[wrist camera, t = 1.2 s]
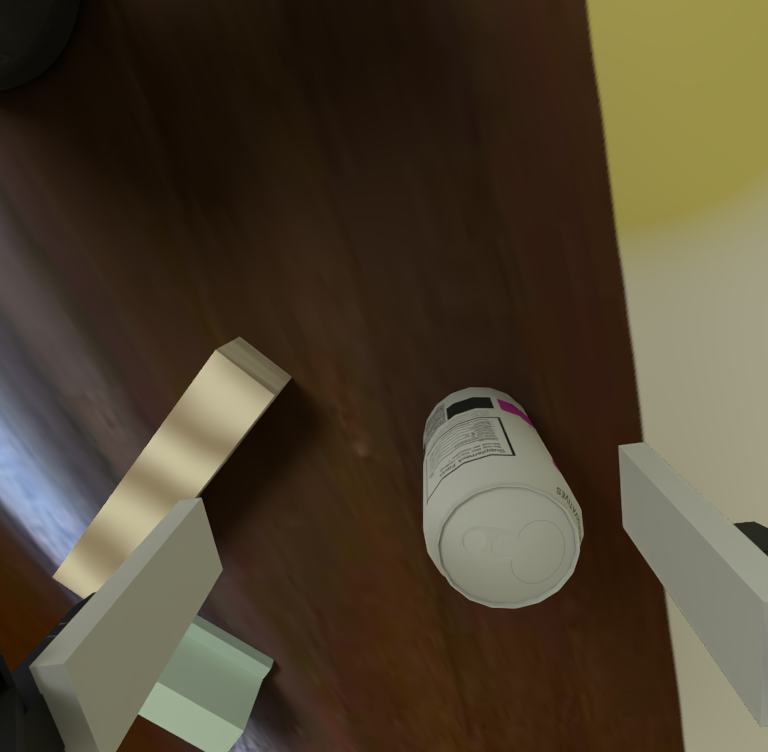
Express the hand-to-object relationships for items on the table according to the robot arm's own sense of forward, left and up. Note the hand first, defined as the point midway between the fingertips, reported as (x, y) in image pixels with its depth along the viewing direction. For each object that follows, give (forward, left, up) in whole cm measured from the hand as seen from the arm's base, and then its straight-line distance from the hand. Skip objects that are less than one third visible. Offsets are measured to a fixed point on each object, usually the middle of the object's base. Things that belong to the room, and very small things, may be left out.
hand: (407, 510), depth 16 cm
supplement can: (+8, -3, -23) cm, 25 cm away
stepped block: (0, -35, -23) cm, 42 cm away
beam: (-10, -19, -23) cm, 32 cm away
